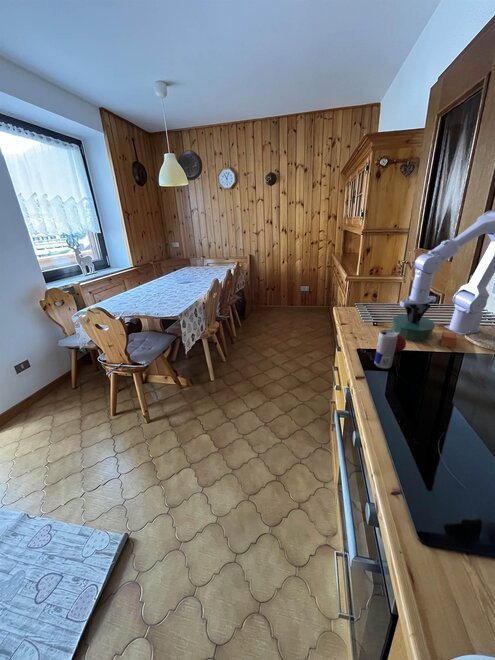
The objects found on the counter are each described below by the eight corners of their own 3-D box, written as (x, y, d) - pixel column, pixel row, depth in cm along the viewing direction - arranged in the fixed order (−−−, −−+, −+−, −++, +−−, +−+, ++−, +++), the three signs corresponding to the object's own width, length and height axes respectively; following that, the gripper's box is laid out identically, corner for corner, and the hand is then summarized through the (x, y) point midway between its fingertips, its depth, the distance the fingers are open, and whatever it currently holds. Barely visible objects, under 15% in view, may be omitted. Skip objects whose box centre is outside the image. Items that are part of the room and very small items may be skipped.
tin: (411, 324, 120) (414, 313, 118) (438, 338, 108) (441, 327, 106) (384, 330, 117) (386, 319, 115) (409, 345, 105) (412, 333, 103)
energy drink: (377, 358, 99) (382, 328, 93) (393, 363, 96) (400, 332, 90) (372, 365, 95) (377, 334, 90) (388, 371, 92) (395, 338, 87)
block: (440, 341, 107) (443, 331, 105) (453, 343, 105) (456, 333, 103) (440, 345, 104) (443, 336, 102) (453, 348, 102) (456, 338, 100)
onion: (405, 357, 99) (410, 337, 95) (388, 356, 100) (392, 336, 96) (401, 348, 104) (405, 329, 100) (384, 347, 105) (388, 328, 101)
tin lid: (413, 314, 118) (416, 303, 116) (443, 329, 106) (447, 316, 104) (384, 320, 115) (386, 308, 113) (411, 335, 103) (414, 323, 101)
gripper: (428, 282, 109) (420, 314, 115) (396, 287, 106) (390, 320, 112) (444, 287, 103) (435, 321, 109) (411, 293, 100) (403, 327, 106)
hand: (413, 321), depth 110 cm, fingers closed on tin lid, 2 cm apart
